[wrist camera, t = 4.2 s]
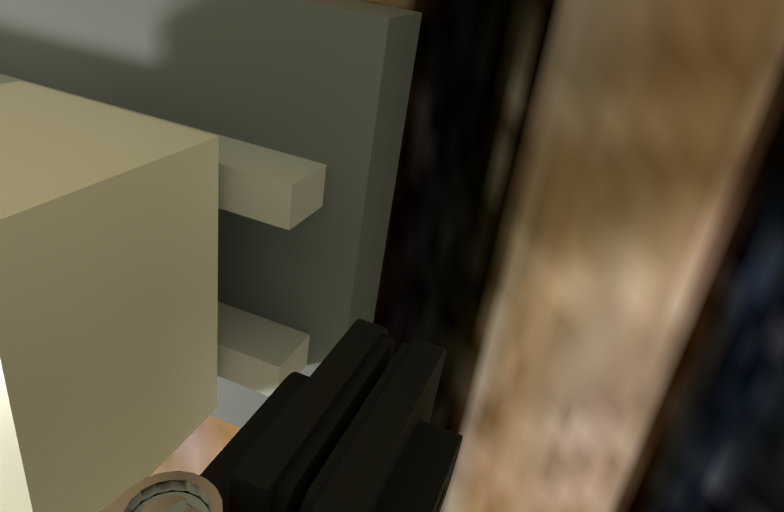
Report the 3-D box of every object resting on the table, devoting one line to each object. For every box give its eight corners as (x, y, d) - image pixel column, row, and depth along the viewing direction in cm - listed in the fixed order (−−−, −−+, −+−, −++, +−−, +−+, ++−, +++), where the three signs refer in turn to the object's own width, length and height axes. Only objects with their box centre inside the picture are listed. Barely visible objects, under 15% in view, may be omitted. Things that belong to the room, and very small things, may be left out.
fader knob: (260, 120, 13) (-28, 230, 7) (250, 373, 16) (47, 580, 11) (76, 71, 14) (-289, 133, 8) (102, 315, 17) (-149, 473, 12)
